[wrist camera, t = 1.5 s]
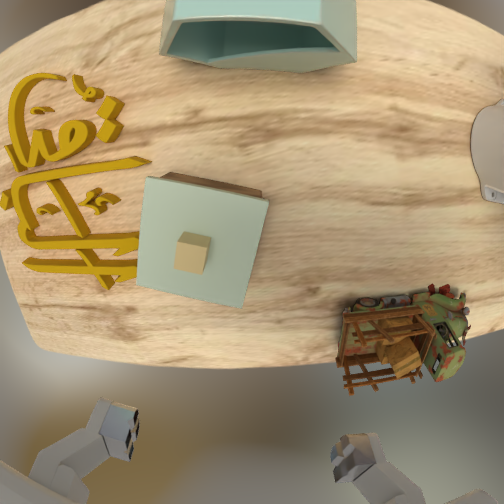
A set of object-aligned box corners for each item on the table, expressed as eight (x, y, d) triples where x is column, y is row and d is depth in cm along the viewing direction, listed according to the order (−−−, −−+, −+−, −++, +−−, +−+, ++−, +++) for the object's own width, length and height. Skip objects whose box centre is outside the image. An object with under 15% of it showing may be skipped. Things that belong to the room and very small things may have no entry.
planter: (245, 76, 35) (112, 50, 19) (248, 28, 32) (123, -16, 16) (368, 76, 26) (283, -8, 10) (368, 20, 23) (285, -87, 7)
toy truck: (446, 326, 46) (483, 377, 32) (328, 344, 47) (348, 413, 33) (461, 278, 42) (509, 325, 28) (334, 290, 42) (364, 358, 29)
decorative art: (-4, 88, 26) (154, 46, 27) (7, 88, 29) (161, 51, 30) (13, 275, 40) (155, 295, 40) (21, 269, 42) (160, 285, 43)
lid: (268, 200, 30) (270, 209, 26) (242, 304, 35) (240, 323, 31) (149, 175, 29) (135, 182, 25) (139, 280, 34) (127, 297, 30)
